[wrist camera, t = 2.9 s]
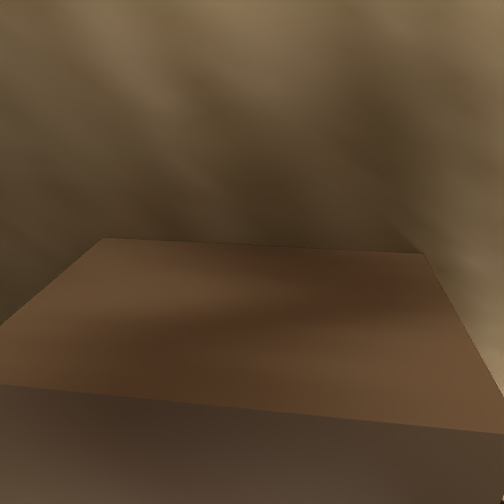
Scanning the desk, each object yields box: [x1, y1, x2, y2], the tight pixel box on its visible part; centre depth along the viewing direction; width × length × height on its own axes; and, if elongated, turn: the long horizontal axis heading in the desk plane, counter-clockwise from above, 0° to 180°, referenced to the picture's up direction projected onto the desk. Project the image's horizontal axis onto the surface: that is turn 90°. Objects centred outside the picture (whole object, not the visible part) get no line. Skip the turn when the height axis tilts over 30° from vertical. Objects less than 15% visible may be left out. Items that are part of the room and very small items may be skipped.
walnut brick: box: [0, 237, 504, 504], centre depth 7 cm, size 6×6×4 cm
